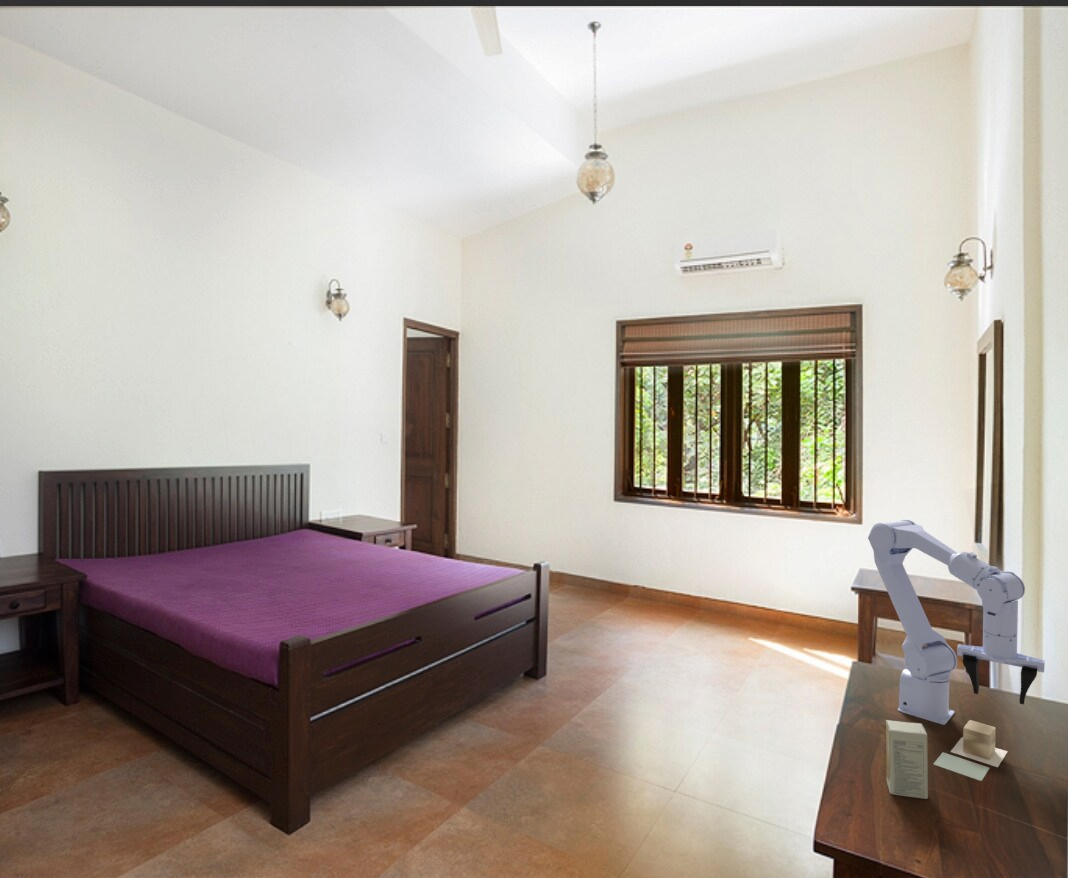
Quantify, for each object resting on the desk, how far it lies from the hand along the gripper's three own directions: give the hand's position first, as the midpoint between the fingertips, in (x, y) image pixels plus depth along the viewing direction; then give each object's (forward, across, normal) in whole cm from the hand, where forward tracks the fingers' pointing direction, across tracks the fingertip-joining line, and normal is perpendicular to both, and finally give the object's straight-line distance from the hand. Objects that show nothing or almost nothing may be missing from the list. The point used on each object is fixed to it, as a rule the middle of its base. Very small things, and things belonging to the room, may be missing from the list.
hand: (998, 697), depth 135 cm
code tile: (+10, -3, -5) cm, 12 cm away
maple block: (+10, -3, -5) cm, 12 cm away
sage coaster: (+10, -5, -14) cm, 18 cm away
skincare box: (+10, -12, -28) cm, 32 cm away
